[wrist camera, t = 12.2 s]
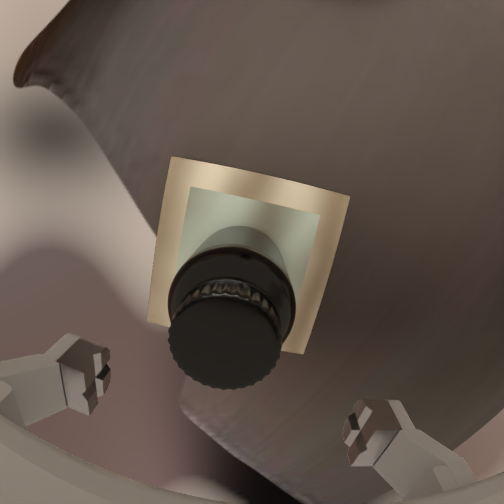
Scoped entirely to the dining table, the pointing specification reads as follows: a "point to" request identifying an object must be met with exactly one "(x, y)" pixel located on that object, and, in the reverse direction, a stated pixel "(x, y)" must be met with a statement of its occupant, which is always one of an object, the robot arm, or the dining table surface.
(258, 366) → the supplement bottle
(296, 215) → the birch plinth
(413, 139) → the dining table surface
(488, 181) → the dining table surface
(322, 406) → the dining table surface
